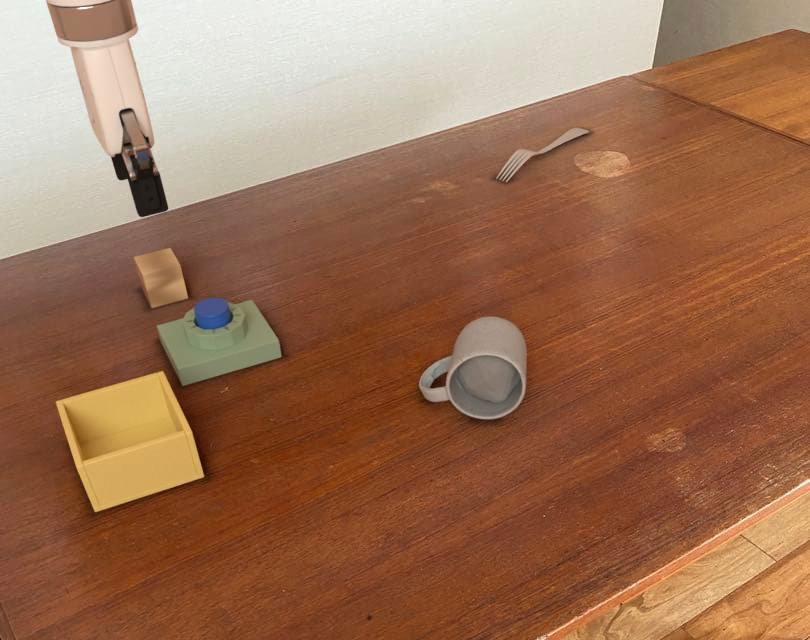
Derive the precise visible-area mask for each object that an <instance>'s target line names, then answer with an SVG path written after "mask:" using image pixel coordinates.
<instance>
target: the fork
mask: <svg viewBox="0 0 810 640" xmlns="http://www.w3.org/2000/svg"><path fill="white" fill-rule="evenodd" d="M589 133H590V131H589V130H588V129H584V128H581V127H573V128H570V129H569V130H567V131H566V132H564V133H563V134H562V135H560V136H559V137H558V138H557V139H556V140H554V141H553V142H551V143H550V144H548V145H547V146H545V147H543V148H542V149H540V150H536V151H534V150H530V149H526V148H519V149H517V150H515V152H514V153H513V154H512V155H511V156H510V157H509V159H508V160H507V161H506V163H505V164H504V166H503V167H502V169H501V170H500V171H499V173H498V174H497V176H496V178H495V179H496V180H497V179H499V181H502V182H504V181H505V183H508V181H509V180H510V179H511V178H512V177H513V176H514V175H515V173H517V171H518V170H519V169H520V168H521V167H522V166H523V165H524V164H525V163H526V162H527V161H528V160H529V159H530V158H531V157H532V156H537V155H542V154H545V153H547V152H549V151H550V150H553V149H554V148H557V147H558V146H560V145H562V144H566V143H567V142H569V141H571V140H574V139H576V138H578V137H581V136H583V135H587V134H589ZM501 174H502V175H501ZM506 178H507V179H506Z"/></svg>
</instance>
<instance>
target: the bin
mask: <svg viewBox="0 0 810 640" xmlns="http://www.w3.org/2000/svg"><path fill="white" fill-rule="evenodd" d="M55 405H56V409H57V411H58V414H59V418H60V421H61V424H62V426H63V430H64V433H65V436H66V439H67V442H68V446H69V449H70V452H71V456H72V458H73V461H74V465H75V468H76V470H77V472H78V473H77V474H78V475H79V478H80V480H81V482H82V485H83V487H84V489H85V492H86V494H87V497H88V499H89V502H90V505H91V506H92V508H93V511H94V513H97V512H100V511H103V510H107V509H110V508H112V507H116V506H120V505H122V504H126V503H128V502H131V501H134V500H138V499H141V498H144V497H147V496H150V495H153V494H156V493H159V492H162V491H166V490H168V489H173V488H174V487H177V486H181V485H184V484H187V483H191V482H194V481H196V480H199V479H203V478H205V474H204V471H203V466H202V463H201V459H200V456H199V455H200V454H199V452H198V448H197V443H196V440H195V437H194V432H193V430H192V429H191V427H190V425H189V422H188V420H187V418H186V416H185V414H184V412H183V409H182V408H181V405H180V404H179V401H178V399H177V396H176V395H175V393H174V391H173V389H172V386H171V384H170V382H169V380H168V377H167V375H166V373H165V372H164V371H163V370H161V371H158V372H153V373H150V374H147V375H143V376H139V377H136V378H132V379H129V380H126V381H122V382H119V383H115V384H111V385H108V386H104V387H101V388H97V389H93V390H90V391H87V392H84V393H81V394H80V393H79V394H76V395H73V396H70V397H65V398H63V399H60V400H56V401H55Z"/></svg>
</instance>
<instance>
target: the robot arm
mask: <svg viewBox="0 0 810 640" xmlns="http://www.w3.org/2000/svg"><path fill="white" fill-rule="evenodd" d="M45 2H46V5H47V9H48V13H49V15H50V18H51V22H52V25H53V28H54V32H55V35H56V38H57V42H58V43H59V44H61V45H62V46H66V47H69V48H70V52H71V56H72V60H73V64H74V68H75V71H76V75H77V79H78V82H79V86H80V89H81V93H82V97H83V101H84V104H85V107H86V108H85V109H86V112H87V116H88V119H89V123H90V126H91V129H92V132H93V133H94V135H95V137H96V139H97V141H98V142H99V144H100V146H101V148H102V149H103V150H104V152H105V153H106V155H108V156H109V157H110V159H111V162H112V166H113V169H114V172H115V176H116V178H117V180H119V181H126V180H127V182H128V185H129V189H130V193H131V196H132V200H133V203H134V206H135V210H136V213H137V215H138V217H140V218H145V217H149V216H153V215H157V214H162V213H165V212H167V211H169V205H168V200H167V196H166V192H165V189H164V185H163V181H162V177H161V173H160V171H159V170H158V166H157V163H156V161H155V158H154V155H153V152H152V148H153V147H154V145H155V137H154V132H153V131H154V130H153V128H152V123H151V118H150V113H149V110H148V106H147V101H146V98H145V93H144V90H143V86H142V81H141V78H140V75H139V71H138V68H137V62H136V60H135V57H134V53H133V49H132V45H131V41H130V39H131V38H132V37H134V36H136V34H137V33H138V31H139V25H138V22H137V18H136V14H135V10H134V6H133V1H132V0H45Z"/></svg>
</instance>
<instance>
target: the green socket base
mask: <svg viewBox="0 0 810 640" xmlns="http://www.w3.org/2000/svg"><path fill="white" fill-rule="evenodd" d="M226 302H227V303H228V305H229V310H230V315H231V322H230V323H229V324H227V325H226V326H225V327H221V328H218V329H214V330H212V329H202V328H200V327H199V326H198V325H197V321H196V317H195V312H194V307H193V308H192V309H190V310H188V311H187V312H186V313H185V314H184V316H183V317H182V318H178V319H175V320H171V321H168V322H164V323H161V324H157V325H156V329H157V335H158V338H159V340H160V343H161V345H162V347H163V349H164V352H165V354H166V356H167V358H168V359H169V362H170V364H171V366H172V367H173V370H174V371H175V374H176V376H177V378H178V381H179V382H180V384H181V386H182V387H184V386H188V385H191V384H194V383H197V382H201V381H204V380H208V379H212V378H215V377H218V376H221V375H225V374H228V373H232V372H236V371H239V370H242V369H243V370H244V369H246V368H250V367H252V366H255V365H256V366H257V365H259V364H263V363H266V362H271V361H273V360H277V359H279V358H282V349H281V344H280V340H279V338H278V336H277V335H276V334H275V332H274V331H273V329H272V328H271V326H270V325H269V323H268V321H267V320H266V318H265V317H264V315H263V314H262V312H261V310H260V309H259V308H258V306H257V305H256V303H255V301H254V300H253V299H250V300H245V301H243V302H238V303H235V304H234V303H233V302H230V301H226Z"/></svg>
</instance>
